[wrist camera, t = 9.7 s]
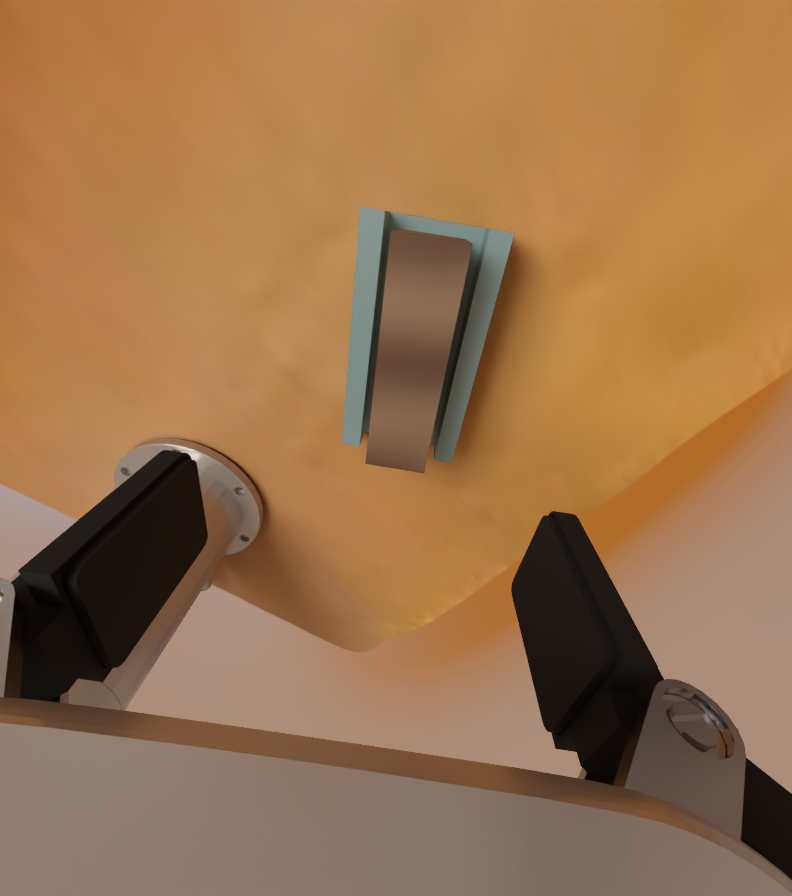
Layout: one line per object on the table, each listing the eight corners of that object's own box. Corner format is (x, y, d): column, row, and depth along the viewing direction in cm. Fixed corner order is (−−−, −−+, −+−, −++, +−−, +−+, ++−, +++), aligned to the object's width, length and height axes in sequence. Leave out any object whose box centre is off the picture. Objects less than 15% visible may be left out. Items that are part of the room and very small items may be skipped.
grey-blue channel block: (450, 440, 27) (451, 462, 25) (350, 422, 27) (341, 443, 25) (504, 231, 20) (514, 233, 18) (369, 208, 20) (360, 206, 18)
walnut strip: (425, 432, 26) (423, 473, 22) (377, 424, 26) (365, 463, 22) (465, 239, 20) (472, 243, 15) (400, 228, 20) (390, 231, 16)
